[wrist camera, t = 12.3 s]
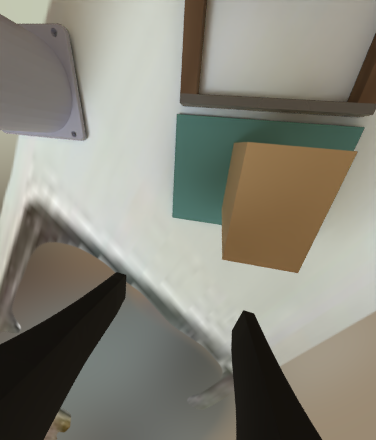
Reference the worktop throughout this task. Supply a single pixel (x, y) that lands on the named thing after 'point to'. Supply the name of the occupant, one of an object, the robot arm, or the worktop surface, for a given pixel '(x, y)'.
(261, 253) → the block
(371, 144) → the worktop surface
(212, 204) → the mat
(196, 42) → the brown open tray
